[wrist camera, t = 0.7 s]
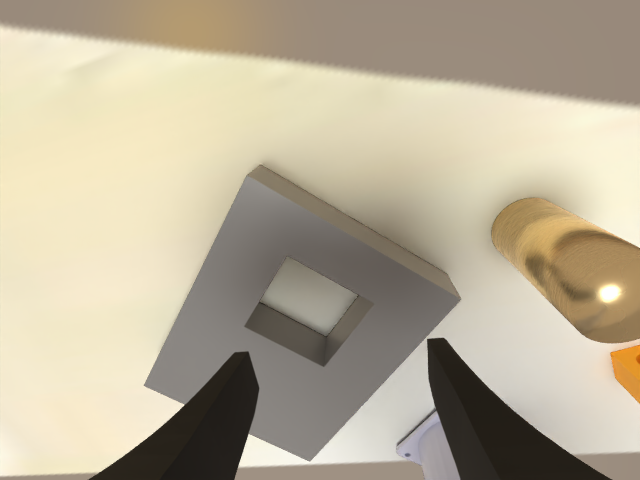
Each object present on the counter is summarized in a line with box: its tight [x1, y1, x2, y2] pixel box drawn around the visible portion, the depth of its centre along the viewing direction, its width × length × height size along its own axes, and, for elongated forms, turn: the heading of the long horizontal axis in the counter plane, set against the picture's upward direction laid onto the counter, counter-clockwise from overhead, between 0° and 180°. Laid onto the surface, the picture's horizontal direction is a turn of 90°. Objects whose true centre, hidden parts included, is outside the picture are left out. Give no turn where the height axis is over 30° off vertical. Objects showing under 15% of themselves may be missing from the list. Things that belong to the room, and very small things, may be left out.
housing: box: [144, 165, 461, 461], centre depth 23 cm, size 14×18×3 cm
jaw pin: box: [492, 198, 640, 343], centre depth 17 cm, size 4×4×8 cm
